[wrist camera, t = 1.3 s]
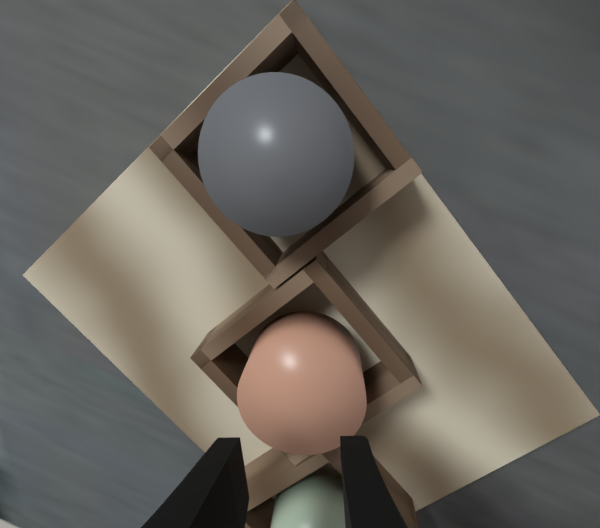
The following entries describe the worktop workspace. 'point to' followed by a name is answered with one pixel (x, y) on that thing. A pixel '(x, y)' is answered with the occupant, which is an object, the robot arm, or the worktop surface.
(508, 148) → the worktop surface
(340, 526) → the sage button
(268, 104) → the charcoal button
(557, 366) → the button panel
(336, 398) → the terracotta button
